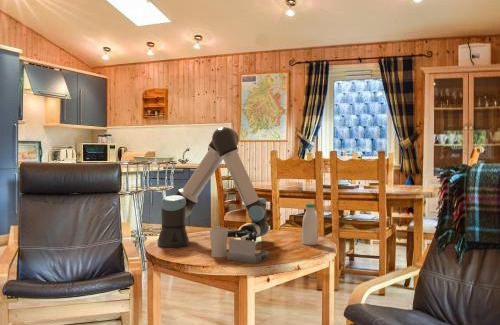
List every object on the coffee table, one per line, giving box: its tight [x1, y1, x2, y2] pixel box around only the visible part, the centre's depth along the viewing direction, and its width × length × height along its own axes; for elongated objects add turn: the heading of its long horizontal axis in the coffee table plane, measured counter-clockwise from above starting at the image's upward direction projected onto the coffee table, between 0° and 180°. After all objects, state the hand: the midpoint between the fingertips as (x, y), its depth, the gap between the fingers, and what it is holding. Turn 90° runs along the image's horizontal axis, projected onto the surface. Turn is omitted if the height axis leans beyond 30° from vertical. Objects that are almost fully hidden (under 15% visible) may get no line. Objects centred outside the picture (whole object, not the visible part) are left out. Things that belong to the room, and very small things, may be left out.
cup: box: [209, 226, 229, 258], centre depth 212 cm, size 8×8×12 cm
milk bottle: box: [301, 203, 319, 246], centre depth 241 cm, size 8×8×20 cm
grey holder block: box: [226, 238, 270, 265], centre depth 206 cm, size 14×12×9 cm
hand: (228, 238), depth 217 cm, fingers open, 13 cm apart
